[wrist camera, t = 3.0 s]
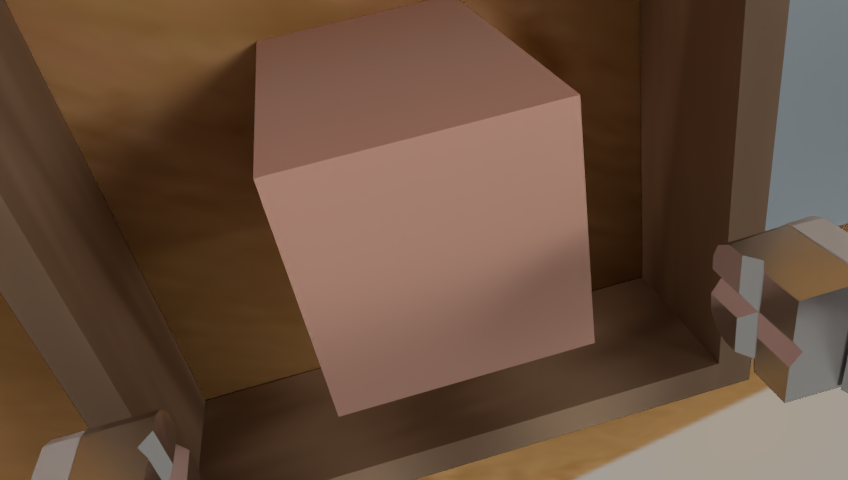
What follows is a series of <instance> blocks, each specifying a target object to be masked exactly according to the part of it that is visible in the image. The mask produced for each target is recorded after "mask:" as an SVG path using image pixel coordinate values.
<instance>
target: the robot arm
mask: <svg viewBox="0 0 848 480" xmlns="http://www.w3.org/2000/svg"><path fill="white" fill-rule="evenodd" d="M712 269H713V270H714V271H715V272H716V273H717V274H718V275H719V276H720V277H721V279H720V281H719V282H718V284H717V285H716V287H715V288H714V290H713V291H712V293H711V313H712V316H713V319H714V322H715V325H716V328H717V330H718V331H719V333H720V335H721V336H722V338H723V340H724V341H725V342H726V343H727V344H728V345H729V346H730V347H731V348H732V349H733V351H734V352H737V353H740V354H743V355H745V356H748V357H751V358H754V372H755V373H756V374H757V375H758V376H759V377H760V378H761V379H762V380H763V381H764V382H765V383H766V384H767V385H768V386H769V388H770V389H771V390H772V391H773V392H774V393H776V394H777V396H778V397H779V398H780V399H781V400H782V401H783V402H784V403H786V402H790V401H793V400H796V399H800V398H803V397H807V396H810V395H814V394H817V393H821V392H824V391H827V390H831V389H834V388H838V387H841V386H842V387H841V390H843V391H845V392H847V393H848V232H846V231H845V230H843V229H841V228H840V227H838V226H837V225H835V224H834V223H832V222H830V221H829V220H827V219H826V218H823V217H819V216H809V217H806V218H803V219H800V220H797V221H794V222H791V223H788V224H784V225H781V226H780V227H778V228H774V229H771V230H768V231H764V232H761V233H758V234H754V235H751V236H748V237H744V238H741V239H738V240H734V241H731V242H728V243H724V244H721V245H718V246H717V248H716V251H715V253H714V255H713V268H712ZM176 437H177V427H176V425H175V423H174V422H173V420H172V418H171V417H170V415H169V413H168V412H167V411H164V410H161V409H160V410H156V411H152V412H149V413H145V414H141V415H138V416H134V417H130V418H127V419H123V420H119V421H115V422H112V423H108V424H104V425H101V426H97V427H93V428H90V429H88V430H86V431H81V432H77V433H73V434H70V435H66V436H63V437H59V438H55V439H52V440H50V441H49V442H48V443H47V444H46V445H44V446H43V447H42V449H41V452H40V455H39V457H38V460H37V463H36V466H35V469H34V471H33V474H32V477H31V480H202V479H201V475H200V472H199V469H198V466H197V463H196V461H195V459H194V457H193V456H192V454H191V452H190V450H188V449H186V448H184V447H181V446H179V445H177V444H176Z"/></svg>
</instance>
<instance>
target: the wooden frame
mask: <svg viewBox="0 0 848 480" xmlns="http://www.w3.org/2000/svg"><path fill="white" fill-rule="evenodd" d="M789 4H790V0H640V22H641V148H642V273H643V277H642V278H638V279H634V280H631V281H627V282H624V283H620V284H617V285H613V286H610V287H606V288H603V289H599V290H596V291H592V305H593V322H594V339H595V343H593V344H589V345H586V346H582V347H579V348H575V349H572V350H568V351H565V352H562V353H558V354H555V355H551V356H548V357H544V358H541V359H537V360H534V361H530V362H527V363H523V364H520V365H517V366H513V367H510V368H506V369H503V370H499V371H496V372H492V373H489V374H485V375H482V376H478V377H475V378H472V379H468V380H465V381H461V382H458V383H454V384H451V385H447V386H444V387H440V388H437V389H433V390H430V391H427V392H423V393H420V394H416V395H413V396H409V397H406V398H402V399H399V400H395V401H392V402H388V403H385V404H381V405H378V406H375V407H371V408H368V409H364V410H361V411H357V412H354V413H350V414H347V415H343V416H340V417H339V416H338V414H337V411H336V408H335V405H334V403H333V400H332V397H331V394H330V391H329V389H328V386H327V383H326V380H325V377H324V375H323V372H322V369H321V368H320V369H316V370H313V371H309V372H306V373H302V374H299V375H295V376H291V377H288V378H284V379H281V380H277V381H274V382H270V383H267V384H263V385H260V386H256V387H253V388H249V389H246V390H242V391H238V392H235V393H231V394H228V395H224V396H221V397H217V398H214V399H210V400H207V401H205V399H204V397H203V395H202V393H201V391H200V389H199V387H198V385H197V383H196V381H195V379H194V377H193V375H192V373H191V371H190V369H189V367H188V365H187V363H186V361H185V359H184V357H183V355H182V353H181V351H180V349H179V347H178V345H177V343H176V341H175V339H174V337H173V335H172V333H171V331H170V329H169V327H168V325H167V323H166V321H165V319H164V317H163V315H162V313H161V311H160V309H159V307H158V305H157V303H156V301H155V299H154V297H153V295H152V293H151V291H150V289H149V287H148V285H147V283H146V281H145V279H144V277H143V275H142V273H141V271H140V269H139V267H138V265H137V263H136V261H135V259H134V257H133V255H132V253H131V251H130V249H129V247H128V245H127V243H126V241H125V239H124V237H123V235H122V233H121V231H120V229H119V227H118V225H117V223H116V222H115V220H114V218H113V216H112V214H111V212H110V210H109V208H108V206H107V204H106V202H105V200H104V198H103V196H102V194H101V192H100V190H99V188H98V186H97V184H96V182H95V180H94V178H93V176H92V174H91V172H90V170H89V168H88V166H87V164H86V162H85V160H84V158H83V156H82V154H81V152H80V150H79V148H78V146H77V144H76V142H75V140H74V138H73V136H72V134H71V132H70V130H69V128H68V126H67V124H66V122H65V120H64V118H63V116H62V114H61V112H60V110H59V108H58V106H57V104H56V102H55V100H54V98H53V96H52V94H51V92H50V90H49V88H48V86H47V84H46V82H45V80H44V78H43V76H42V74H41V72H40V70H39V68H38V66H37V64H36V62H35V60H34V58H33V56H32V54H31V52H30V50H29V48H28V46H27V44H26V42H25V40H24V38H23V36H22V34H21V32H20V30H19V28H18V26H17V24H16V22H15V20H14V18H13V16H12V14H11V12H10V11H9V9H8V7H7V5H6V3H5V1H4V0H0V293H1V294H2V296H3V298H4V299H5V301H6V302H7V304H8V305H9V307H10V308H11V310H12V311H13V313H14V314H15V316H16V317H17V319H18V320H19V322H20V324H21V325H22V327H23V328H24V330H25V331H26V333H27V334H28V336H29V337H30V339H31V340H32V342H33V343H34V345H35V346H36V348H37V350H38V351H39V353H40V354H41V356H42V357H43V359H44V360H45V362H46V363H47V365H48V366H49V368H50V369H51V371H52V372H53V374H54V375H55V377H56V379H57V380H58V382H59V383H60V385H61V386H62V388H63V389H64V391H65V392H66V394H67V395H68V397H69V398H70V400H71V401H72V403H73V405H74V406H75V408H76V409H77V411H78V412H79V414H80V415H81V417H82V418H83V420H84V421H85V423H86V424H87V426H88V427H89V429H90V428H93V427H97V426H101V425H104V424H108V423H112V422H115V421H119V420H123V419H127V418H130V417H134V416H138V415H141V414H145V413H149V412H152V411H156V410H160V409H161V410H164V411H167V412H168V413H169V415H170V417H171V418H172V420H173V422H174V423H175V425H176V427H177V437H176V444H177V445H179V446H181V447H184V448H186V449H188V450H190V452H191V454H192V456H193V457H194V459H195V461H196V463H197V466H198V469H199V472H200V475H201V479H202V480H415V479H418V478H421V477H425V476H428V475H431V474H435V473H438V472H441V471H445V470H448V469H451V468H455V467H458V466H461V465H465V464H468V463H471V462H475V461H478V460H481V459H485V458H488V457H491V456H495V455H498V454H501V453H505V452H508V451H511V450H515V449H518V448H521V447H525V446H528V445H531V444H535V443H538V442H541V441H545V440H548V439H551V438H555V437H558V436H561V435H565V434H568V433H571V432H575V431H578V430H581V429H585V428H588V427H591V426H595V425H598V424H601V423H605V422H608V421H611V420H615V419H618V418H621V417H625V416H628V415H631V414H635V413H638V412H641V411H645V410H648V409H651V408H655V407H658V406H661V405H665V404H668V403H671V402H675V401H678V400H681V399H685V398H688V397H691V396H695V395H698V394H701V393H705V392H708V391H711V390H715V389H718V388H721V387H725V386H728V385H731V384H735V383H738V382H741V381H745V380H748V379H749V374H750V364H751V357H748V356H745V355H743V354H740V353H737V352H734V351H733V349H732V348H731V347H730V346H729V345H728V344H727V343H726V342H725V341H724V340H723V338H722V336H721V335H720V333H719V331H718V330H717V328H716V325H715V322H714V319H713V316H712V313H711V293H712V291H713V290H714V288H715V287H716V285H717V284H718V282H719V281H720V279H721V277H720V276H719V275H718V274H717V273H716V272H715V271H714V270H713V269H712V268H713V255H714V253H715V251H716V248H717V246H718V245H721V244H724V243H728V242H731V241H734V240H738V239H741V238H744V237H748V236H751V235H754V234H758V233H761V232H764V231H765V226H766V217H767V207H768V198H769V189H770V180H771V170H772V161H773V152H774V143H775V134H776V124H777V115H778V106H779V97H780V87H781V78H782V69H783V60H784V50H785V41H786V32H787V23H788V14H789Z"/></svg>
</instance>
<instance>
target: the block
mask: <svg viewBox="0 0 848 480" xmlns="http://www.w3.org/2000/svg"><path fill="white" fill-rule="evenodd" d="M253 180H254V182H255V185H256V188H257V191H258V194H259V196H260V199H261V202H262V205H263V207H264V210H265V213H266V216H267V219H268V221H269V224H270V227H271V230H272V233H273V235H274V238H275V241H276V244H277V247H278V249H279V252H280V255H281V258H282V260H283V263H284V266H285V269H286V272H287V274H288V277H289V280H290V283H291V286H292V288H293V291H294V294H295V297H296V299H297V302H298V305H299V308H300V311H301V313H302V316H303V319H304V322H305V325H306V327H307V330H308V333H309V336H310V338H311V341H312V344H313V347H314V350H315V352H316V355H317V358H318V361H319V364H320V366H321V369H322V372H323V375H324V377H325V380H326V383H327V386H328V389H329V391H330V394H331V397H332V400H333V403H334V405H335V408H336V411H337V414H338V416H339V417H340V416H343V415H347V414H350V413H354V412H357V411H361V410H364V409H368V408H371V407H375V406H378V405H381V404H385V403H388V402H392V401H395V400H399V399H402V398H406V397H409V396H413V395H416V394H420V393H423V392H427V391H430V390H433V389H437V388H440V387H444V386H447V385H451V384H454V383H458V382H461V381H465V380H468V379H472V378H475V377H478V376H482V375H485V374H489V373H492V372H496V371H499V370H503V369H506V368H510V367H513V366H517V365H520V364H523V363H527V362H530V361H534V360H537V359H541V358H544V357H548V356H551V355H555V354H558V353H562V352H565V351H568V350H572V349H575V348H579V347H582V346H586V345H589V344H593V343H595V339H594V322H593V305H592V288H591V271H590V254H589V236H588V219H587V202H586V185H585V168H584V151H583V133H582V116H581V99H580V94H579V93H578V92H576V91H575V90H574V89H572V88H571V87H570V86H569V85H567V84H566V83H565V82H563V81H562V80H561V79H560V78H558V77H557V76H556V75H555V74H553V73H552V72H551V71H549V70H548V69H547V68H546V67H544V66H543V65H542V64H541V63H539V62H538V61H537V60H535V59H534V58H533V57H532V56H530V55H529V54H528V53H526V52H525V51H524V50H523V49H521V48H520V47H519V46H518V45H516V44H515V43H514V42H512V41H511V40H510V39H509V38H507V37H506V36H505V35H504V34H502V33H501V32H500V31H498V30H497V29H496V28H495V27H493V26H492V25H491V24H490V23H488V22H487V21H486V20H484V19H483V18H482V17H481V16H479V15H478V14H477V13H475V12H474V11H473V10H472V9H470V8H469V7H468V6H467V5H465V4H464V3H463V2H461V1H460V0H427V1H423V2H419V3H414V4H410V5H406V6H402V7H398V8H394V9H389V10H385V11H381V12H377V13H373V14H369V15H364V16H360V17H356V18H352V19H348V20H344V21H339V22H335V23H331V24H327V25H323V26H319V27H315V28H310V29H306V30H302V31H298V32H294V33H290V34H285V35H281V36H277V37H273V38H269V39H265V40H260V41H257V43H256V83H255V123H254V164H253Z"/></svg>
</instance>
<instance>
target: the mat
mask: <svg viewBox="0 0 848 480" xmlns="http://www.w3.org/2000/svg"><path fill="white" fill-rule="evenodd" d="M809 216H819V217H823V218H826V219H827V220H829V221H830V222H832V223H834V224H835V225H837V226H840V225H844V224H848V0H790V4H789V14H788V23H787V32H786V41H785V50H784V60H783V69H782V78H781V87H780V97H779V106H778V115H777V124H776V134H775V143H774V152H773V161H772V170H771V180H770V189H769V198H768V207H767V217H766V226H765V231H768V230H771V229H774V228H778V227H780V226H781V225H784V224H788V223H791V222H794V221H797V220H800V219H803V218H806V217H809Z"/></svg>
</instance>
